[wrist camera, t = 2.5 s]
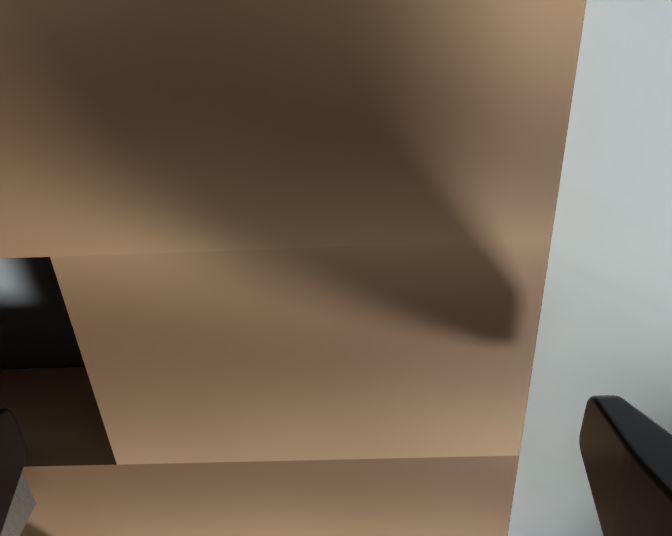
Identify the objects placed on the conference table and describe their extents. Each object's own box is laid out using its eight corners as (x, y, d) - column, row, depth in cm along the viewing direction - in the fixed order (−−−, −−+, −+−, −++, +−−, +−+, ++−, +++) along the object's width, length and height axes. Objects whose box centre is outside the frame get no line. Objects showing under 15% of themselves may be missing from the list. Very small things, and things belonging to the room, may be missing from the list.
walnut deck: (456, 670, 21) (471, 777, 18) (-111, 677, 22) (-173, 781, 19) (526, -47, 10) (591, -33, 7) (-633, 11, 11) (-950, 42, 8)
